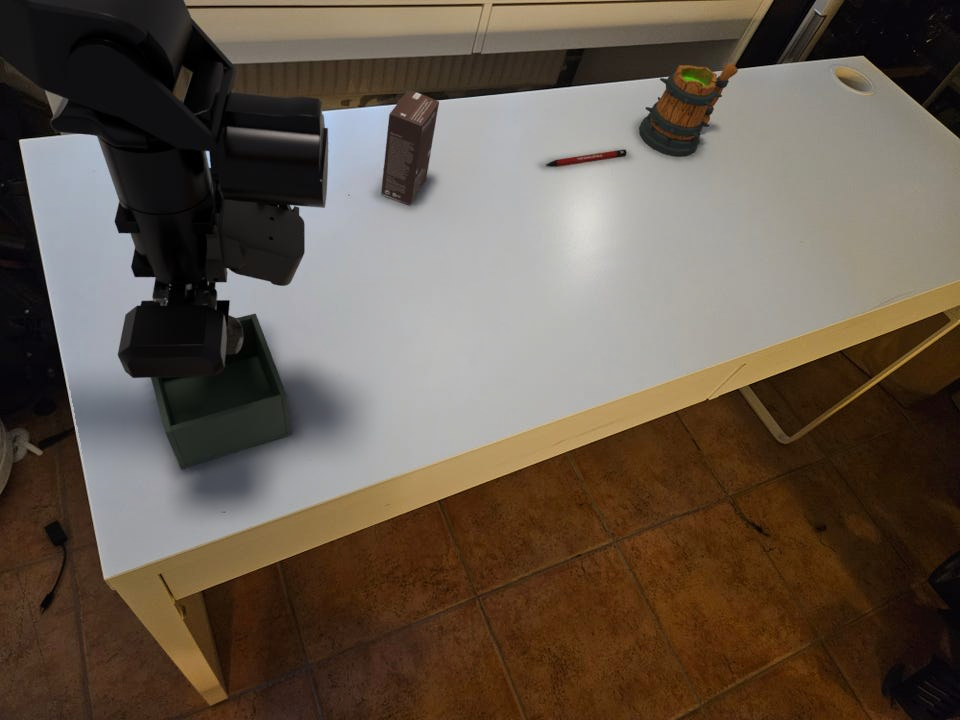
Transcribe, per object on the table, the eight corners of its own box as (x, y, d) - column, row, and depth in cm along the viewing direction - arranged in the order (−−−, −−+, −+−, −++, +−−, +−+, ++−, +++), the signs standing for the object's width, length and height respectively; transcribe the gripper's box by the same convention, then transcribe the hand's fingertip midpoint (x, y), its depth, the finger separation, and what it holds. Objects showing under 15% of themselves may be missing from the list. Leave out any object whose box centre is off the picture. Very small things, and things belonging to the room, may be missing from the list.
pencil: (542, 165, 94) (544, 160, 94) (622, 153, 100) (624, 148, 99) (545, 169, 94) (547, 164, 93) (625, 157, 99) (627, 151, 98)
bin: (180, 469, 59) (165, 432, 54) (157, 382, 63) (141, 340, 58) (292, 434, 63) (287, 396, 57) (262, 354, 67) (255, 313, 62)
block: (165, 336, 55) (160, 322, 54) (238, 320, 57) (235, 306, 56) (173, 369, 53) (168, 356, 52) (249, 351, 56) (246, 338, 54)
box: (412, 207, 84) (422, 125, 75) (380, 195, 85) (385, 112, 75) (429, 180, 88) (440, 99, 78) (398, 169, 88) (405, 87, 79)
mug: (662, 162, 99) (695, 93, 90) (624, 122, 104) (652, 53, 95) (724, 148, 105) (761, 82, 96) (685, 111, 109) (717, 44, 100)
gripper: (293, 293, 39) (304, 426, 51) (295, 106, 49) (304, 254, 62) (84, 294, 36) (149, 434, 49) (133, 97, 47) (176, 253, 59)
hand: (204, 334), depth 55 cm, fingers closed on block, 3 cm apart
